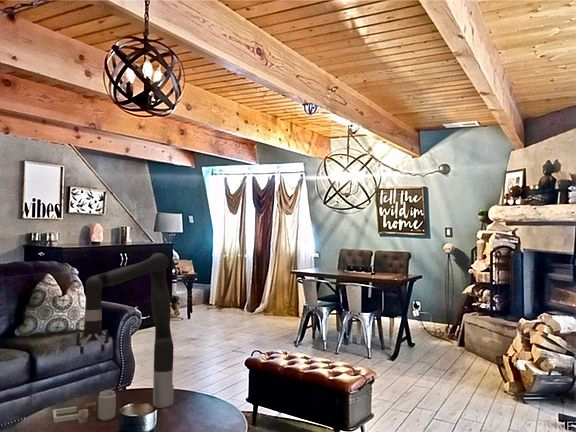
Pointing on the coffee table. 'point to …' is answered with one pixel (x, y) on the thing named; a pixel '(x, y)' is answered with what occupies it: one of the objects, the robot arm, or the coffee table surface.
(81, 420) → the cork cylinder
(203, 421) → the coffee table surface
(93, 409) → the walnut block
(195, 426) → the coffee table surface
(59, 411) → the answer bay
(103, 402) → the pale grey jar
